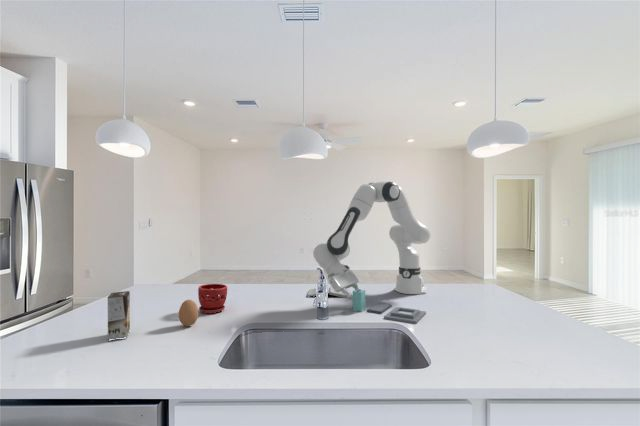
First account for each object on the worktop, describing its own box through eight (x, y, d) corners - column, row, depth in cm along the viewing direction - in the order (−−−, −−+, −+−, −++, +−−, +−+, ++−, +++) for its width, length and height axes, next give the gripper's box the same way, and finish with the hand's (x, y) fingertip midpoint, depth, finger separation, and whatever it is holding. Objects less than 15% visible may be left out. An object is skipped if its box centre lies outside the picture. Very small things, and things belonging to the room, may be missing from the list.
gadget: (348, 292, 202) (348, 286, 202) (349, 298, 187) (349, 292, 187) (309, 292, 203) (309, 285, 203) (307, 298, 188) (307, 291, 188)
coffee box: (127, 339, 127) (127, 295, 127) (107, 341, 125) (107, 297, 125) (130, 331, 136) (129, 290, 136) (111, 333, 133) (111, 292, 133)
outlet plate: (395, 309, 164) (395, 304, 164) (425, 313, 156) (425, 309, 156) (384, 318, 150) (383, 313, 150) (416, 323, 143) (416, 318, 143)
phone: (367, 311, 160) (367, 309, 160) (378, 304, 172) (378, 302, 172) (381, 313, 157) (381, 311, 157) (391, 306, 169) (391, 304, 169)
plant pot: (205, 317, 154) (205, 290, 154) (194, 310, 164) (193, 285, 164) (232, 311, 162) (232, 286, 162) (219, 305, 172) (219, 281, 172)
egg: (174, 328, 139) (174, 301, 139) (187, 322, 147) (187, 296, 147) (189, 330, 137) (189, 302, 137) (202, 324, 144) (202, 298, 144)
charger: (356, 308, 167) (356, 288, 167) (365, 309, 164) (365, 289, 164) (352, 310, 163) (352, 290, 163) (361, 311, 160) (361, 291, 160)
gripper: (330, 271, 160) (349, 294, 155) (349, 265, 177) (367, 286, 172) (321, 279, 162) (340, 303, 157) (342, 273, 179) (359, 294, 174)
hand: (354, 294), depth 165 cm, fingers open, 8 cm apart
